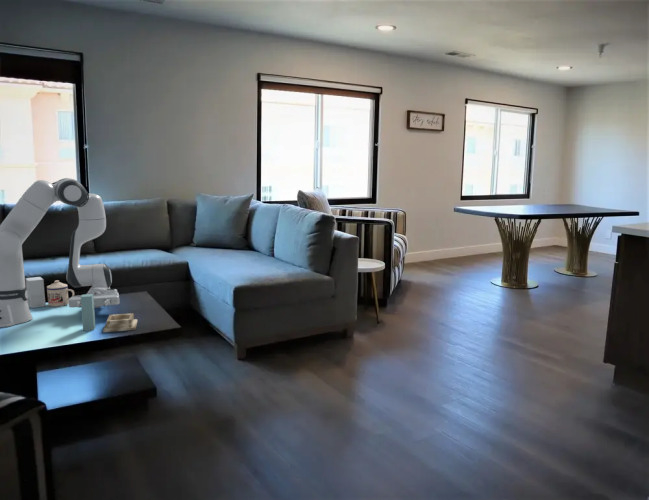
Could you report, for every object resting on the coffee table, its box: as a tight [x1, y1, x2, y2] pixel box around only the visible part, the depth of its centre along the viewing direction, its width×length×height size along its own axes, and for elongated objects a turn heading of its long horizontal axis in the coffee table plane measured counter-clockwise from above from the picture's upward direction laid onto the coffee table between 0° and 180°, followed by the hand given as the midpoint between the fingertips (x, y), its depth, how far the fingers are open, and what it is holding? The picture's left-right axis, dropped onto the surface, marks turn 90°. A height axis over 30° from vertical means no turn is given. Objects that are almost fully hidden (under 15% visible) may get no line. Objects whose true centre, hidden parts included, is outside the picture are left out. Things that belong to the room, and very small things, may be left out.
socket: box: [102, 312, 138, 333], centre depth 209 cm, size 12×12×4 cm
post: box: [80, 293, 96, 332], centre depth 205 cm, size 4×4×14 cm
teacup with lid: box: [46, 279, 75, 308], centre depth 242 cm, size 12×9×12 cm
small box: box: [25, 276, 46, 309], centre depth 240 cm, size 8×6×13 cm
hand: (92, 304), depth 214 cm, fingers open, 8 cm apart
